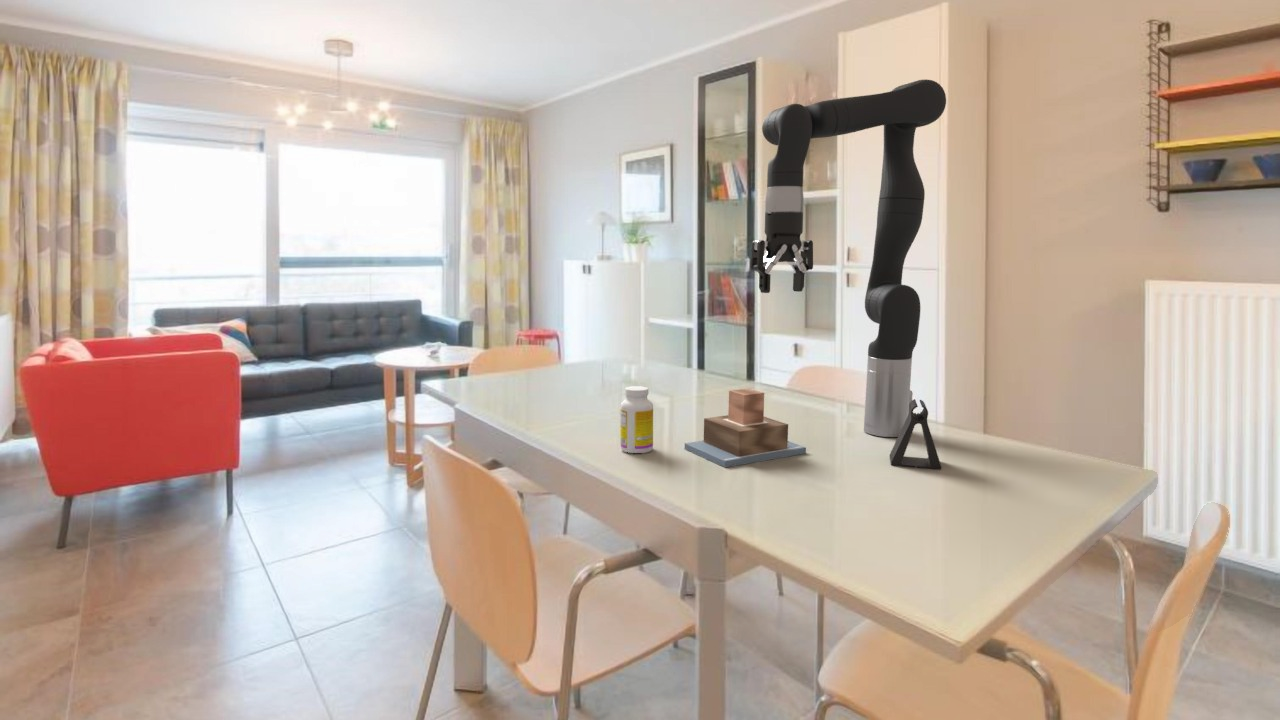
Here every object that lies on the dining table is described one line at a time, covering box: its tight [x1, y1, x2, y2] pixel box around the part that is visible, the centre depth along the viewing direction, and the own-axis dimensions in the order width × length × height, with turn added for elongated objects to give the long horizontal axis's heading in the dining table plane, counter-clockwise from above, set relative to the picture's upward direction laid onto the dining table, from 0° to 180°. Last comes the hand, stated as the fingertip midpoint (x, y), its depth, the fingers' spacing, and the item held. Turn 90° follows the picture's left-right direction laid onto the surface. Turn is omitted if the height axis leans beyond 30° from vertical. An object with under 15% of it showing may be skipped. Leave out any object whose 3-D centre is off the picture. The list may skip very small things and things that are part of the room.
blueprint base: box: [684, 415, 807, 468], centre depth 143 cm, size 20×14×6 cm
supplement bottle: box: [619, 385, 654, 454], centre depth 143 cm, size 7×7×13 cm
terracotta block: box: [728, 388, 765, 425], centre depth 142 cm, size 5×5×6 cm
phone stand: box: [889, 399, 942, 471], centre depth 135 cm, size 9×6×12 cm, turn 73°
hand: (781, 292), depth 144 cm, fingers open, 8 cm apart
